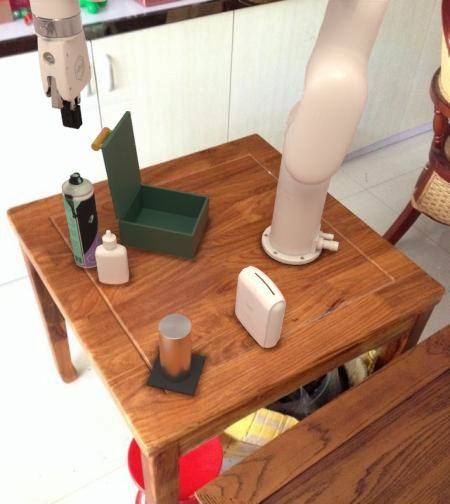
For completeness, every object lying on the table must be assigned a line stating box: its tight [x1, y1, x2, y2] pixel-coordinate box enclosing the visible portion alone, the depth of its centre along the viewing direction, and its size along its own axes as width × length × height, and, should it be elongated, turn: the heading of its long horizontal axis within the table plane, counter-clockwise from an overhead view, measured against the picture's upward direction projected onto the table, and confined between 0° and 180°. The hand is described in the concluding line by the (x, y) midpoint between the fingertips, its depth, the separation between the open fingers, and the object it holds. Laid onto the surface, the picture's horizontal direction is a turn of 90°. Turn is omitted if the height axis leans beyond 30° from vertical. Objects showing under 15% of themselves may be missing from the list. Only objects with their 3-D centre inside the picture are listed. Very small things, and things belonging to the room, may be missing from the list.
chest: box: [117, 183, 210, 260], centre depth 115 cm, size 15×13×6 cm
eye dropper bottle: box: [95, 229, 130, 285], centre depth 103 cm, size 4×6×12 cm
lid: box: [90, 110, 142, 221], centre depth 107 cm, size 16×13×5 cm
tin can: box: [158, 313, 193, 383], centre depth 89 cm, size 5×5×12 cm
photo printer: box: [234, 265, 287, 349], centre depth 96 cm, size 10×4×12 cm, turn 32°
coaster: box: [145, 349, 207, 397], centre depth 94 cm, size 8×8×1 cm
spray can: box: [61, 171, 103, 269], centre depth 103 cm, size 6×6×20 cm
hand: (72, 125), depth 103 cm, fingers closed
